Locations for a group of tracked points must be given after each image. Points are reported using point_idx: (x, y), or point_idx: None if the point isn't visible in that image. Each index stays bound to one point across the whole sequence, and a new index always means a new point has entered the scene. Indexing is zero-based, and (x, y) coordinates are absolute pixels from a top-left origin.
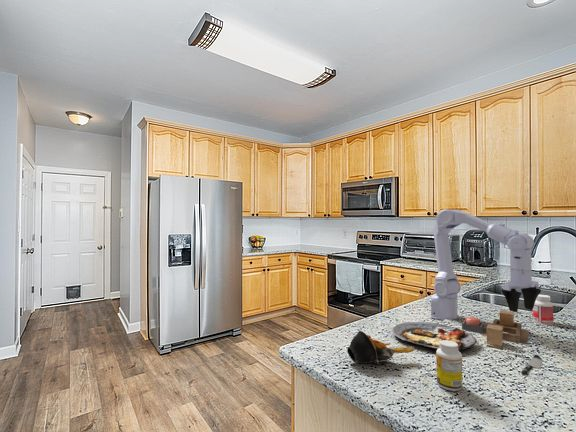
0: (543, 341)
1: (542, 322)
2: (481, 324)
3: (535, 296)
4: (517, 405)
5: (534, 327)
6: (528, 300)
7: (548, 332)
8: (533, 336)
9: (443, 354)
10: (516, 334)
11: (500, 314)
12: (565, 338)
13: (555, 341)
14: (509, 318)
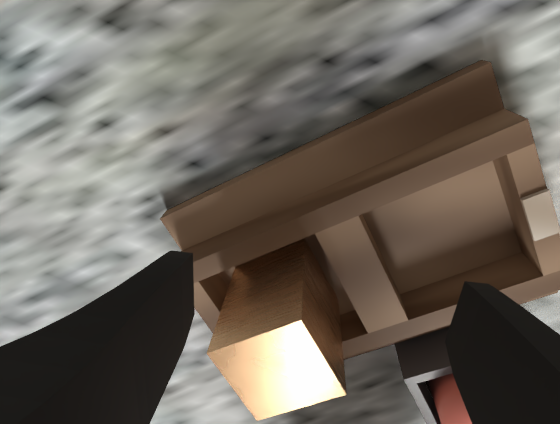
0: (238, 77)
1: None
2: None
3: (66, 358)
4: None
5: (28, 246)
6: (148, 366)
7: (25, 159)
8: (202, 162)
9: None
10: (494, 153)
11: (343, 377)
12: (19, 40)
13: (154, 38)
14: (314, 315)
